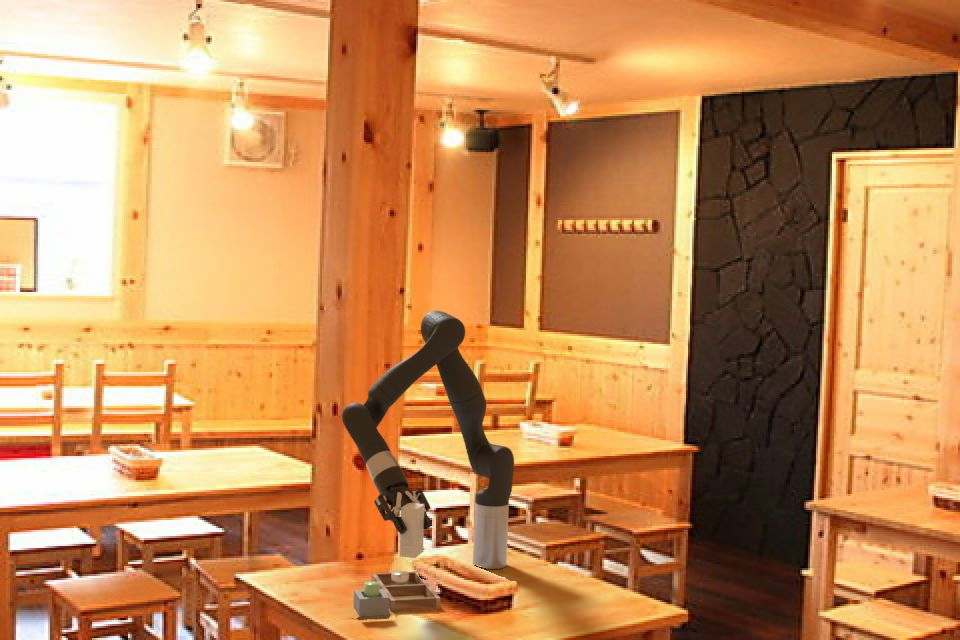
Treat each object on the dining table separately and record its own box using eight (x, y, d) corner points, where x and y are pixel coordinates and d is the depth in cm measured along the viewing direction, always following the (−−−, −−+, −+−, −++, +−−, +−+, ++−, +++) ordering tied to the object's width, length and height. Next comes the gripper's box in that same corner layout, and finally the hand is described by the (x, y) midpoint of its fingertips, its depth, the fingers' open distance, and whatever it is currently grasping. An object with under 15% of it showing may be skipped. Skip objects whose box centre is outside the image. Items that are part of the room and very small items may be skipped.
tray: (371, 587, 306) (371, 573, 306) (417, 584, 310) (417, 571, 309) (390, 615, 284) (391, 600, 284) (439, 612, 288) (440, 598, 287)
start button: (362, 598, 285) (362, 581, 284) (377, 597, 286) (377, 581, 286) (365, 603, 281) (365, 586, 281) (380, 602, 282) (381, 585, 282)
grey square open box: (353, 611, 286) (354, 590, 286) (382, 609, 288) (383, 588, 288) (359, 620, 279) (359, 599, 279) (388, 618, 281) (389, 597, 281)
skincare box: (406, 550, 294) (408, 502, 293) (423, 552, 293) (425, 503, 292) (398, 556, 288) (400, 507, 288) (415, 558, 287) (417, 509, 286)
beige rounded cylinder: (389, 586, 304) (389, 571, 303) (406, 586, 305) (406, 570, 304) (392, 591, 299) (393, 576, 299) (410, 591, 301) (410, 575, 300)
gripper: (371, 468, 290) (401, 525, 282) (416, 461, 300) (446, 517, 292) (356, 485, 294) (385, 543, 286) (401, 479, 304) (430, 534, 296)
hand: (416, 530), depth 289 cm, fingers closed on skincare box, 7 cm apart
